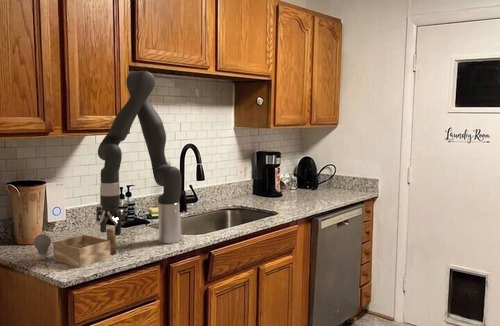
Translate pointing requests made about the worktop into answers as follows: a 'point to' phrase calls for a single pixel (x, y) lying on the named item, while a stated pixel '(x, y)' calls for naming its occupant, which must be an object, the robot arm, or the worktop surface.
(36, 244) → the light bulb
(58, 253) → the crate
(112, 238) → the peg
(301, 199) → the worktop surface
